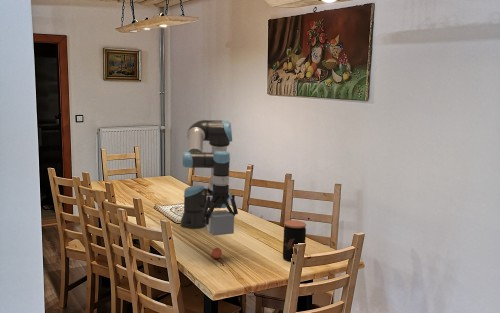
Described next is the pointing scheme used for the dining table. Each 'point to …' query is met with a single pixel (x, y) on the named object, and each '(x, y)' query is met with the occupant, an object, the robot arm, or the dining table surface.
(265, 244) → the dining table surface
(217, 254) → the ball
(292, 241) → the coffee jar
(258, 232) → the dining table surface
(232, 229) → the rounded grey cube
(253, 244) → the dining table surface
